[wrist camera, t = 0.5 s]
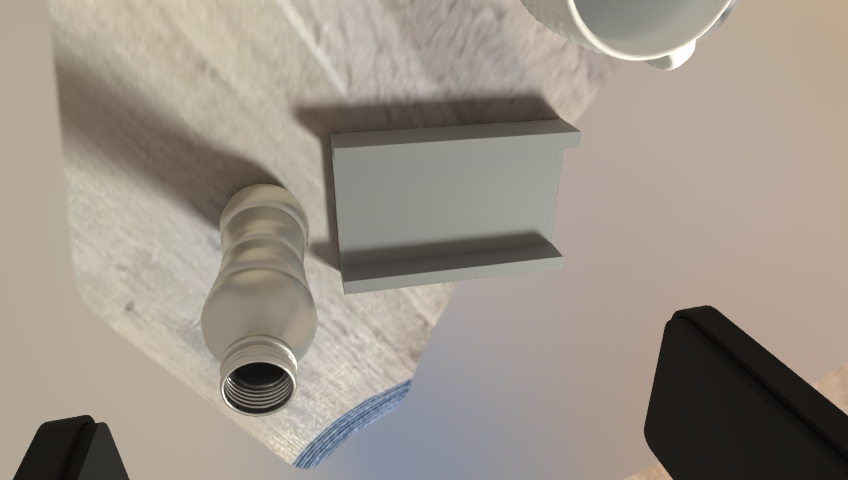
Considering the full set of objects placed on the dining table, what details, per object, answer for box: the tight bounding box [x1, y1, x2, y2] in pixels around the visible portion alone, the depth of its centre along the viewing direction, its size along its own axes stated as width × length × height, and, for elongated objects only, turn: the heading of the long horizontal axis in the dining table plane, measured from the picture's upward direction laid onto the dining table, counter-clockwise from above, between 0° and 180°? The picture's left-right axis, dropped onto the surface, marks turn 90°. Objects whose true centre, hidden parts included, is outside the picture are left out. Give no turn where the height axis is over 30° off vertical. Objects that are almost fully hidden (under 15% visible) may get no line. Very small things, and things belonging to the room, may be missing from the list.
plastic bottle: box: [201, 184, 318, 417], centre depth 36 cm, size 6×7×20 cm
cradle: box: [330, 119, 581, 295], centre depth 46 cm, size 12×19×4 cm, turn 90°
